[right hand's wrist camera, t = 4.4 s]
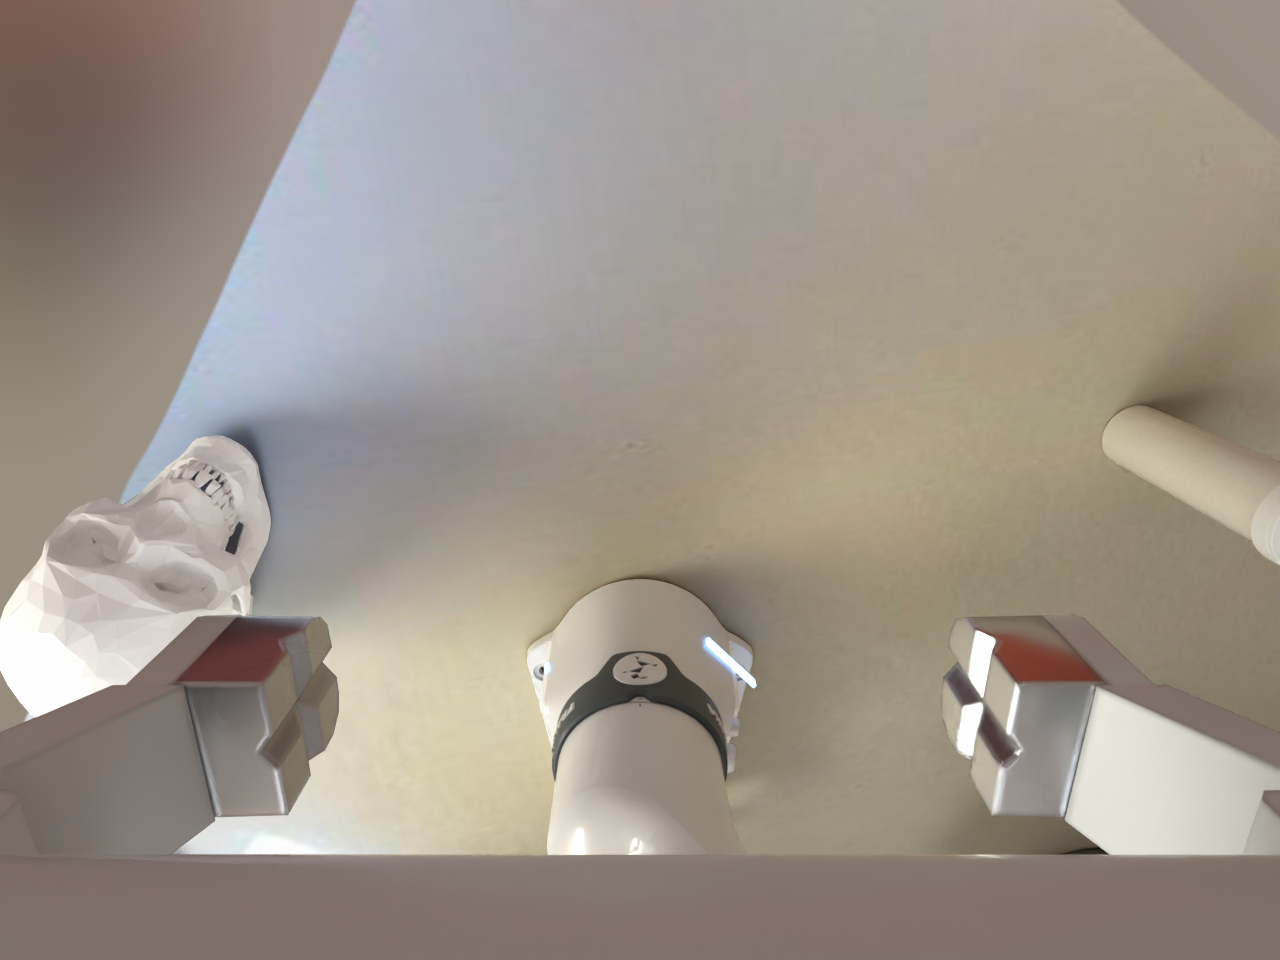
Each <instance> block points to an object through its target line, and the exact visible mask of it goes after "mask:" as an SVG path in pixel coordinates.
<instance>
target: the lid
mask: <svg viewBox="0 0 1280 960" xmlns="http://www.w3.org/2000/svg"><path fill="white" fill-rule="evenodd" d="M1251 537H1252V541H1253V543H1254V545H1255V547H1256V549H1257V550H1258V551H1259V552H1260V553H1261V554H1262V555H1263V556H1264V557H1266V558H1268V559H1269V560H1271V561H1273V562H1275V563H1276V564H1278V565H1280V485H1278V486H1277V487H1275V488H1274V489H1273V490H1272V491H1271V492H1269V493H1268V494H1267V495H1266V497H1265V498H1264V499H1263V500H1262V501H1261V503H1260V504H1259V506H1258V507H1257V509H1256V511H1255V513H1254V516H1253V519H1252V523H1251Z"/></svg>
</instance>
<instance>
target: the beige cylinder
mask: <svg viewBox="0 0 1280 960" xmlns="http://www.w3.org/2000/svg"><path fill="white" fill-rule="evenodd" d="M1102 448H1103V451H1104V453H1105V455H1106V456H1107V458H1108V459H1109V460H1111V461H1112V462H1114V463H1115V464H1117V465H1119V466H1121V467H1122V468H1124V469H1126V470H1128V471H1129V472H1131V473H1133V474H1135V475H1136V476H1138V477H1140V478H1142V479H1143V480H1145V481H1147V482H1149V483H1150V484H1152V485H1154V486H1156V487H1157V488H1159V489H1161V490H1163V491H1164V492H1166V493H1168V494H1170V495H1171V496H1173V497H1175V498H1177V499H1178V500H1180V501H1182V502H1183V503H1185V504H1187V505H1189V506H1190V507H1192V508H1194V509H1196V510H1197V511H1199V512H1201V513H1203V514H1204V515H1206V516H1208V517H1210V518H1211V519H1213V520H1215V521H1217V522H1218V523H1220V524H1222V525H1224V526H1225V527H1227V528H1229V529H1231V530H1232V531H1234V532H1236V533H1238V534H1239V535H1241V536H1243V537H1245V538H1246V539H1248V540H1250V541H1252V537H1251V523H1252V519H1253V516H1254V513H1255V511H1256V509H1257V507H1258V506H1259V504H1260V503H1261V501H1262V500H1263V499H1264V498H1265V497H1266V495H1267V494H1268V493H1269V492H1271V491H1272V490H1273V489H1274V488H1275V487H1277V486H1278V485H1280V462H1279V461H1277V460H1275V459H1272V458H1270V457H1268V456H1265V455H1263V454H1261V453H1258V452H1256V451H1253V450H1251V449H1249V448H1246V447H1244V446H1242V445H1239V444H1237V443H1235V442H1232V441H1230V440H1228V439H1225V438H1223V437H1220V436H1218V435H1216V434H1213V433H1211V432H1209V431H1206V430H1204V429H1202V428H1199V427H1197V426H1194V425H1192V424H1190V423H1187V422H1185V421H1183V420H1180V419H1178V418H1176V417H1173V416H1171V415H1168V414H1166V413H1164V412H1161V411H1159V410H1157V409H1154V408H1152V407H1149V406H1143V405H1140V406H1132V407H1129V408H1126V409H1124V410H1122V411H1120V412H1119V413H1117V414H1116V415H1115V416H1114V417H1113V418H1112V419H1111V420H1110V421H1109V422H1108V424H1107V425H1106V427H1105V429H1104V432H1103V435H1102ZM1252 542H1253V541H1252Z"/></svg>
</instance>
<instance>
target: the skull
mask: <svg viewBox="0 0 1280 960" xmlns="http://www.w3.org/2000/svg"><path fill="white" fill-rule="evenodd" d="M204 467H206V468H205V469H204ZM203 469H204V470H203ZM211 470H213V471H214V473H213V474H212V475H211V474H209V472H210V471H211ZM197 471H199V473H198V475H197V476H196V479H195V481H193V480H191V479H192V477H193V476H194V475H195V474H196V472H197ZM218 475H220V476H221V477H220V479H219V481H218V482H217V481H216V480H215V479H216V478H217V476H218ZM209 480H213V481H212V482H211V483H210V484H209V485H208V487H207V488H206V491H205V493H204V492H203V491H202V490H201V489H200V488H201V487H202V486H203V485H204V484H206V483H207V482H208V481H209ZM222 481H223V482H224V485H223V487H222V488H221V489H219V490H218V491H217V492H215V491H216V490H217V489H218V488H219V487H220V486H221V485H220V484H219V483H221V482H222ZM214 492H215V493H214ZM213 493H214V494H213ZM226 493H228V494H226ZM212 494H213V495H212ZM208 495H212V496H211V497H209V496H208ZM217 501H218V502H217ZM216 502H217V503H216ZM222 505H223V506H222ZM221 506H222V508H220V507H221ZM232 507H233V508H232ZM239 521H240V522H241V523H242V524H243V528H242V531H241V534H240V537H239V542H238V547H237V551H236V553H235V554H234V555H233V554H231V553H228V552H226V551H225V549H226V546H227V544H228V541H229V537H230V536H232V535H233V533H234V531H235V527H236V525H237V524H238V522H239ZM270 527H271V518H270V511H269V507H268V503H267V500H266V497H265V494H264V491H263V487H262V484H261V479H260V474H259V469H258V464H257V462H256V461H255V459H254V458H253V456H252V454H251V453H250V452H249V451H248V450H247V449H246V448H245V447H244V446H242V445H240V444H239V443H237V442H235V441H233V440H232V439H230V438H227V437H224V436H215V435H213V436H205V437H199V438H197V439H196V440H195V441H193V442H192V443H191V445H190V446H189V448H188V449H187V451H185V452H184V453H183V454H182V455H181V456H180V457H179V458H178V459H177V460H175V461H174V462H172V463H171V464H169V465H168V466H167V467H166V468H165V469H164V470H163V471H162V472H161V473H160V474H159V475H158V476H157V477H156V478H155V479H153V480H152V481H151V482H150V483H149V484H148V485H147V486H146V487H145V488H144V489H143V491H142V492H141V493H140V494H138V495H137V496H135V497H134V498H132V499H131V500H129V501H128V502H127V503H125V504H124V505H122V504H118V503H115V502H113V501H111V500H108V499H106V498H103V497H102V498H99V499H96V500H93V501H91V502H89V503H87V504H84V505H82V506H80V507H78V508H76V509H75V510H73V511H72V512H70V514H69V515H68V516H67V517H66V518H65V519H64V520H63V521H62V523H61V524H60V525H59V526H58V527H57V528H56V529H55V530H54V531H53V533H52V534H51V535H50V536H49V537H48V538H47V540H46V541H45V545H44V550H43V554H42V556H41V558H40V559H39V561H38V562H37V564H36V565H35V566H34V568H33V569H32V570H31V571H30V572H29V573H28V574H27V576H26V577H25V578H24V579H23V580H22V582H21V583H20V585H19V586H18V588H17V589H16V591H15V592H14V594H13V595H12V597H11V598H10V600H9V601H8V603H7V604H6V606H5V608H4V611H3V614H2V617H1V620H0V670H1V672H2V674H3V676H4V678H5V680H6V682H7V684H8V686H9V687H10V688H11V690H12V691H13V692H14V694H15V695H16V697H17V698H18V700H19V701H20V702H21V703H22V704H23V706H24V707H25V708H26V709H27V710H28V711H29V712H30V713H31V714H32V715H33V716H35V717H38V716H40V715H43V714H45V713H47V712H50V711H52V710H54V709H57V708H59V707H61V706H64V705H66V704H69V703H71V702H73V701H76V700H78V699H80V698H83V697H85V696H88V695H90V694H92V693H95V692H97V691H99V690H102V689H104V688H107V687H109V686H111V685H126V684H127V683H128V682H129V681H130V680H131V679H132V678H133V677H134V676H135V675H136V674H138V673H139V672H140V671H141V670H142V669H143V668H144V667H145V666H146V665H147V664H148V663H149V662H150V661H151V660H152V659H153V658H154V657H155V656H157V655H158V654H159V653H160V652H161V651H162V650H163V649H164V648H165V647H166V646H167V645H168V644H169V643H170V642H171V641H172V640H173V639H174V638H176V637H177V636H178V635H179V634H180V633H181V632H182V631H183V630H184V629H185V628H186V627H187V626H188V625H189V624H190V623H191V622H192V621H193V620H195V619H196V618H197V617H200V616H207V615H242V616H246V615H251V612H252V602H253V596H252V595H251V594H250V592H251V585H250V581H249V580H250V578H251V576H252V574H253V572H254V570H255V567H256V565H257V563H258V561H259V559H260V557H261V555H262V553H263V550H264V548H265V546H266V544H267V542H268V538H269V533H270Z"/></svg>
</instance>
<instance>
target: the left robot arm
mask: <svg viewBox="0 0 1280 960" xmlns="http://www.w3.org/2000/svg"><path fill="white" fill-rule="evenodd" d="M1065 855H1109V854H1108V853H1107V852H1106V851H1104V850H1103V849H1093V850H1083V851H1077V852H1073V853H1069V854H1065Z"/></svg>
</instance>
